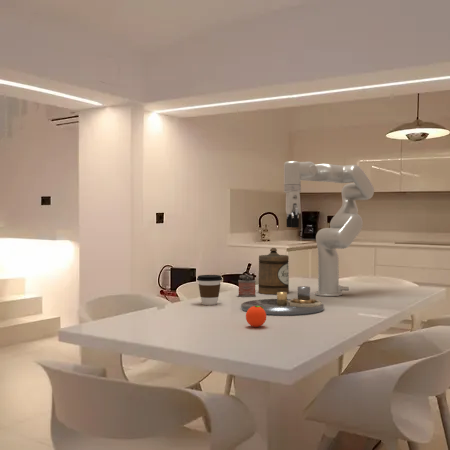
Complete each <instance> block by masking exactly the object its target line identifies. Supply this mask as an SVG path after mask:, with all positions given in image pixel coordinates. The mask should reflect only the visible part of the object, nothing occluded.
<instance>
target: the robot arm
mask: <svg viewBox="0 0 450 450" xmlns="http://www.w3.org/2000/svg"><path fill="white" fill-rule="evenodd" d="M302 181H310V182H323V183H325V182H326V183H335V184H344V185H343V187H342V189H341V200H342V204H341V207H340V208H339V209H338V210H337V212H336V213H335V214H334V215H333V217H332V218H331V220H330V222H329V227H323V228H321V229H319V230H318V231H317V232H316V235H315V242H316V247H317V256H318V257H317V261H318V263H317V264H318V267H317V269H318V270H317V276H318V278H317V281H318V282H317V285H318V287H317V291H315V292H314V295H315V296H321V297H338V296H342V295H343V291H345V292H346V291H349V290H350V287H349V286H341V285H340V283H339V280H340V279H339V278H340V277H339V276H340V275H339V268H340V266H339V264H340V262H339V261H340V260H339V254H338V251H337V250H336V249H338V250H339V249H341V250H342V249H346V248H349V247H350V246H351V245H352V244H353V242H354V241H355V239H356V238H357V236H359V234H360V232H361V231H362V229H363V227H364V226H363V225H364V221H363V218H362V216H361V215H360V214H358V213H359V208H358V204H357V201H367V200H370V199H371V198H373V196H374V193H375V188H374V185H373V184H372V182H371V180H370V178H369V177H368V175H367V174H366V172H365V171H364V170H363V169H362V167H360V165H357V164H347V165H339V164H331V163H317V164H316V163H314V162H313V161H296V160H291V161H289V160H288V161H285V162H284V163H283V193H285V213H286V218H285V219H286V228H291V229H293V228H294V229H295V228H297V229H298V228H299V227H300V220H299V219H300V218H299V217H300V216H299V215H300V214H301V212H302V208H301V207H302V206H301V194H300V193H301V192H302V187H301V186H302V185H301V182H302Z"/></svg>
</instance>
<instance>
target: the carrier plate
mask: <svg viewBox="0 0 450 450" xmlns="http://www.w3.org/2000/svg"><path fill="white" fill-rule="evenodd" d="M292 299H293V298H288V293H287V292H277V294H276V298H270V299H269V298H267V299H266V298H264V299H254V300H248V301H244V302H242V303H241V304H240V310H241V311H243V312H246V313H247V311H248V309H249V308H251V307H253V306H262V307H263V309H264V311H265V313H266V316H273V317H274V316H277V317H278V316H280V317H282V316H283V317H284V316H286V317H287V316H289V317H290V316H291V317H292V316H306V315H307V316H308V315H314V314H318V313H322V312H324V309H325V306H324V304H323V303H322V301H320V300H319V299H315V303H305V304H301V303H292Z"/></svg>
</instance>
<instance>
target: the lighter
mask: <svg viewBox="0 0 450 450" xmlns="http://www.w3.org/2000/svg"><path fill="white" fill-rule="evenodd" d="M241 279H242V280H241ZM253 279H254V276H253V275H249V274H247V275H242V274H241V275H239V279H238V295H237V296H238V298H255V297H256V283H257V281H256V280H255V279H254V280H253Z"/></svg>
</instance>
